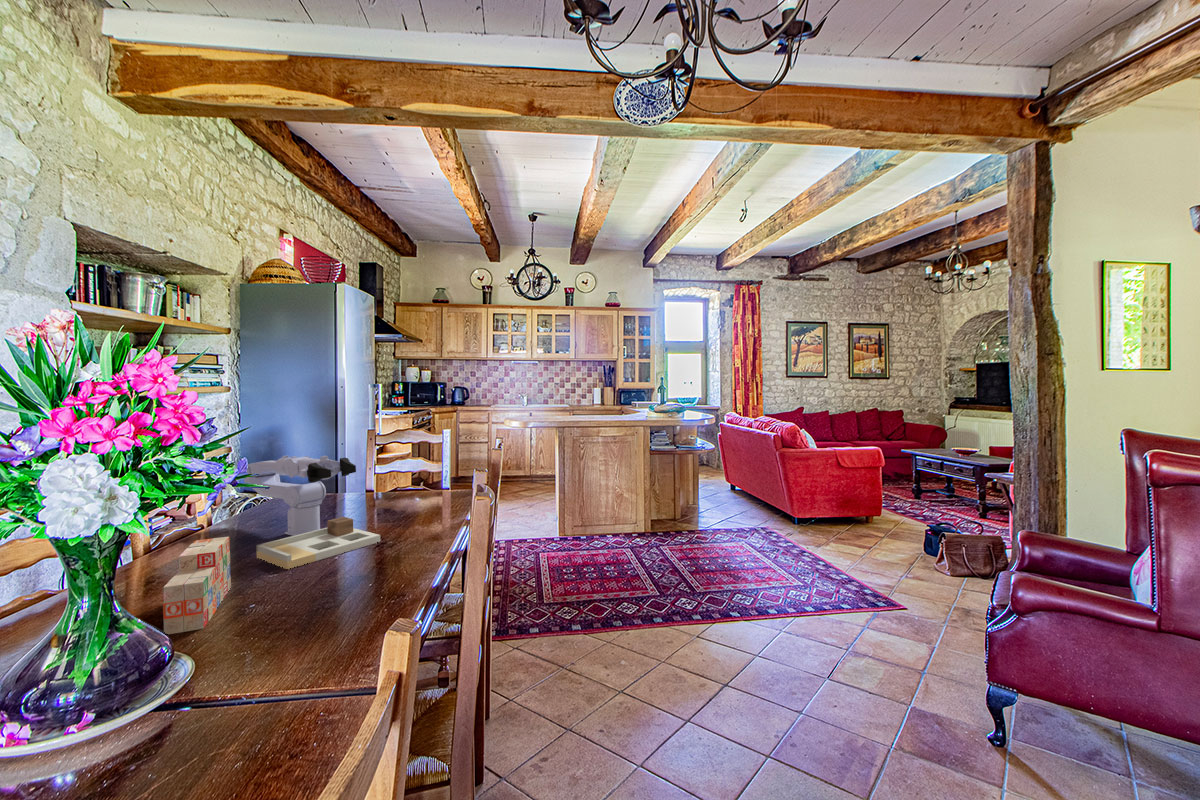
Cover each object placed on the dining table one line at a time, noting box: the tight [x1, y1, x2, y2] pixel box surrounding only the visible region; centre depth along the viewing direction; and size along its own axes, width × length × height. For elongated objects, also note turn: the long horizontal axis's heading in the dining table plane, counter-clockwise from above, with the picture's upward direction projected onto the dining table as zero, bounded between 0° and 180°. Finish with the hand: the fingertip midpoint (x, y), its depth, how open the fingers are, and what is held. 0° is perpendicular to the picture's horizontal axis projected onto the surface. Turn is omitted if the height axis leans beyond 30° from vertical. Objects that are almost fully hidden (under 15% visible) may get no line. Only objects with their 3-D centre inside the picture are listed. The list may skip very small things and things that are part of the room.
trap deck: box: [255, 526, 381, 570], centre depth 142 cm, size 16×26×4 cm, turn 148°
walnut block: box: [326, 516, 354, 536], centre depth 151 cm, size 5×5×4 cm
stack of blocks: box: [162, 536, 232, 635], centre depth 105 cm, size 21×6×12 cm, turn 25°
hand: (342, 471), depth 147 cm, fingers open, 7 cm apart
